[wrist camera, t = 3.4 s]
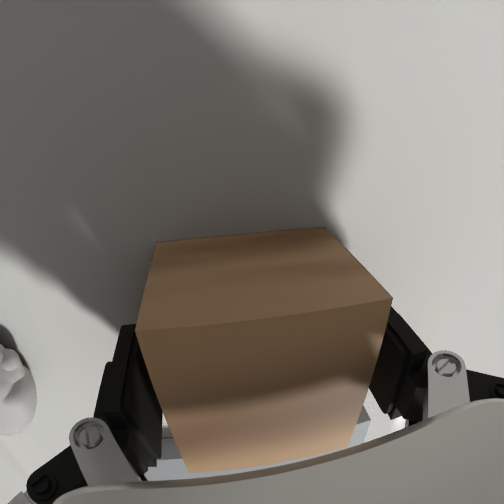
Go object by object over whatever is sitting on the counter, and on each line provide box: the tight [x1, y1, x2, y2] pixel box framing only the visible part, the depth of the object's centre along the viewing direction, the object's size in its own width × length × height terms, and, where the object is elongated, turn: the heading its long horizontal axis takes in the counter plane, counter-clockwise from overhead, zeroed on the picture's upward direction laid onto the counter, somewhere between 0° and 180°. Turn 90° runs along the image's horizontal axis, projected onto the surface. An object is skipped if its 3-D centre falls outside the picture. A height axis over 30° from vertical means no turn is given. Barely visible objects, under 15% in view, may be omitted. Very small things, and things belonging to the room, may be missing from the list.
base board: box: [145, 406, 371, 481], centre depth 19 cm, size 16×16×2 cm
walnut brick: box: [135, 227, 393, 473], centre depth 11 cm, size 7×6×5 cm
